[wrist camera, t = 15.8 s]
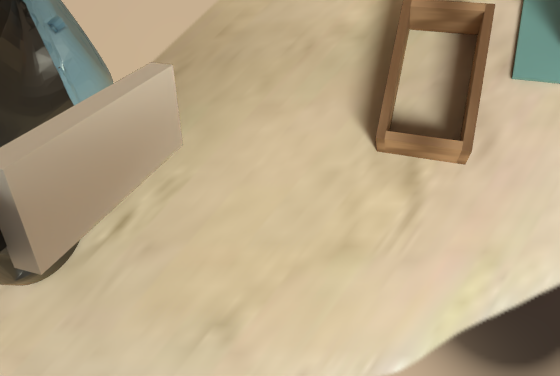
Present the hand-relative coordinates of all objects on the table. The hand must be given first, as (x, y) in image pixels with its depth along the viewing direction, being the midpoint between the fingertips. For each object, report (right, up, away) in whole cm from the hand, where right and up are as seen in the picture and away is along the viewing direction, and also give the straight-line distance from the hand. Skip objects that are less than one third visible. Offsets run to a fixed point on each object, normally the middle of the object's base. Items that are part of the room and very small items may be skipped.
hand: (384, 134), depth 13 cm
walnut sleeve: (+12, +8, +34) cm, 37 cm away
